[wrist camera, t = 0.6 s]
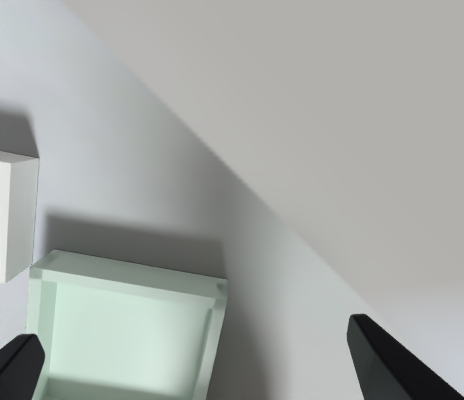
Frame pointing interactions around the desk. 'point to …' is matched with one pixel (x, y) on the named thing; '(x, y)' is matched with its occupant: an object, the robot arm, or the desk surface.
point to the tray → (123, 329)
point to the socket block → (17, 212)
